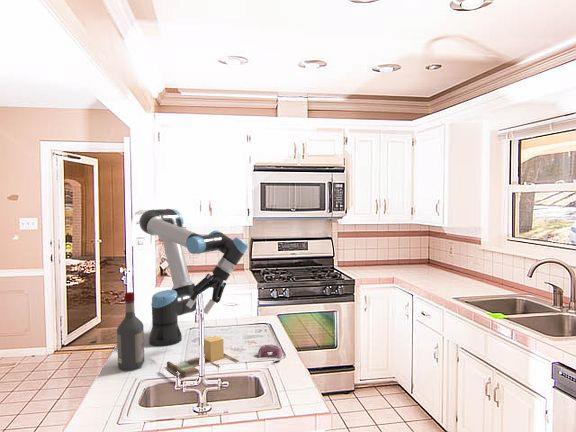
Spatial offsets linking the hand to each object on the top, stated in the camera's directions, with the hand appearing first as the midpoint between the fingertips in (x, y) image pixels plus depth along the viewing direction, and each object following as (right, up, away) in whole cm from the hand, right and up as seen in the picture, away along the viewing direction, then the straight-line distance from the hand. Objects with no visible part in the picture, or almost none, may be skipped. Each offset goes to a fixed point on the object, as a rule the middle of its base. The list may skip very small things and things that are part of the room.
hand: (196, 309), depth 197 cm
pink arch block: (+33, -19, -11) cm, 39 cm away
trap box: (+7, -19, -19) cm, 28 cm away
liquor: (-23, -20, -17) cm, 35 cm away
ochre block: (+10, -17, -13) cm, 23 cm away
